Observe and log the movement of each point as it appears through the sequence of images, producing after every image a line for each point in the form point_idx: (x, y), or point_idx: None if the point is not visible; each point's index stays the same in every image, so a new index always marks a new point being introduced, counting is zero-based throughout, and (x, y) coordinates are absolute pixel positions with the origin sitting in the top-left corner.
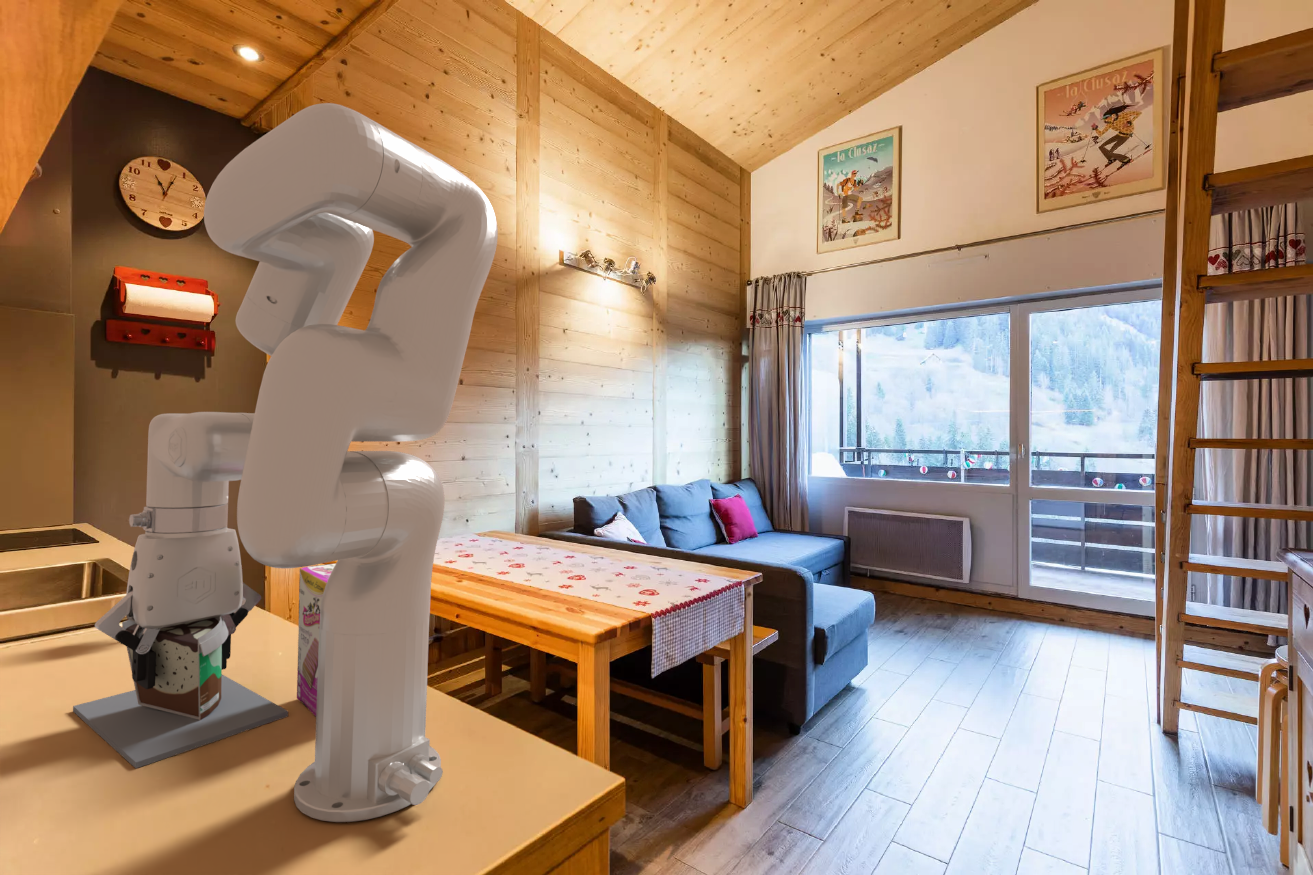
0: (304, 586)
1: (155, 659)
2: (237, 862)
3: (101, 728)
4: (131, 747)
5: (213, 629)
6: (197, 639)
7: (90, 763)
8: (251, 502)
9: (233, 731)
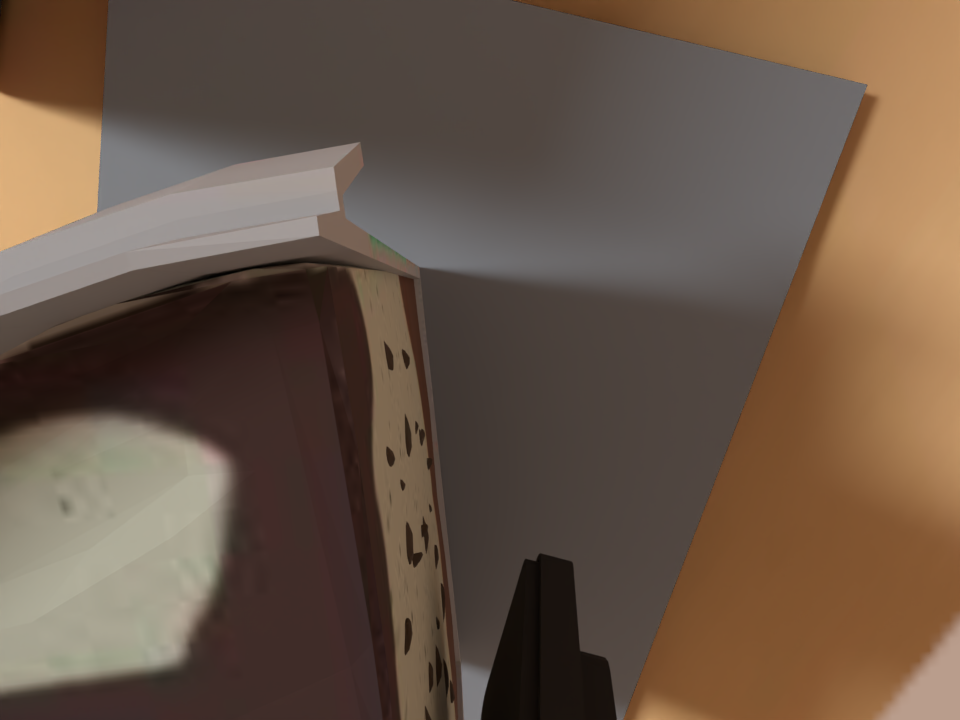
0: None
1: (525, 706)
2: None
3: (661, 592)
4: (753, 278)
5: None
6: (226, 466)
7: (868, 346)
8: None
9: None
